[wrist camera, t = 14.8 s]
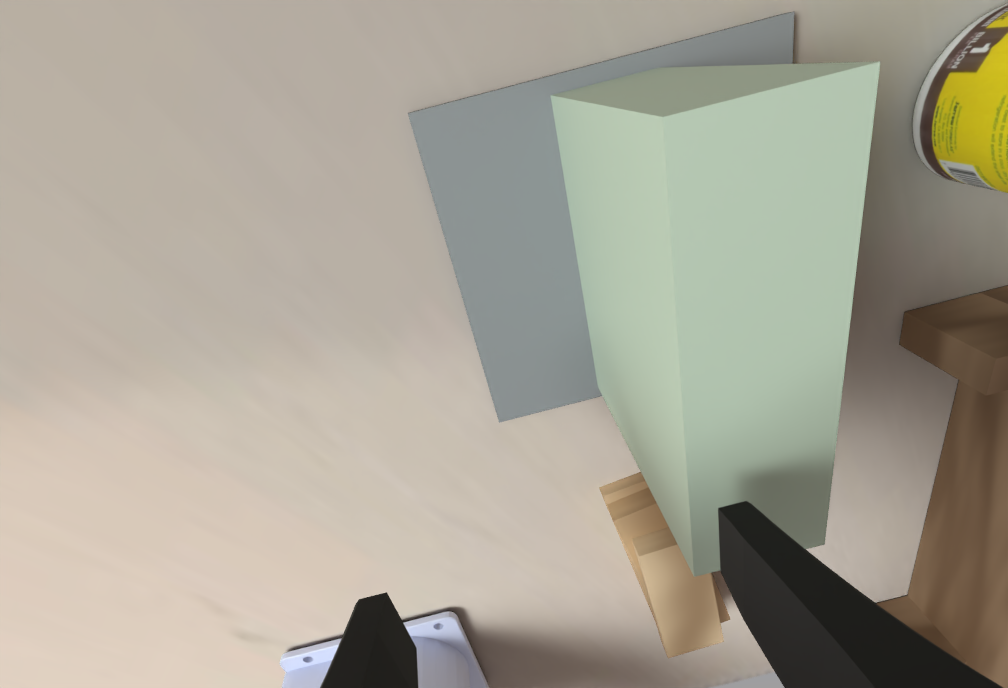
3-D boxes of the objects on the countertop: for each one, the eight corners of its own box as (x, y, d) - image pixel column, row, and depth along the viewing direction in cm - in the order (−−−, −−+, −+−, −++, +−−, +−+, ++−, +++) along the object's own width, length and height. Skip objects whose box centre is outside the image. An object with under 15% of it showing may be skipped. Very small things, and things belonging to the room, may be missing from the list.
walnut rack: (853, 624, 32) (935, 733, 27) (904, 312, 21) (1056, 390, 16) (928, 605, 32) (1025, 710, 27) (1017, 282, 21) (1206, 351, 16)
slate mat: (498, 416, 22) (499, 422, 21) (408, 112, 16) (408, 113, 16) (776, 345, 21) (781, 349, 21) (786, 12, 16) (794, 11, 15)
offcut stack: (653, 620, 30) (674, 672, 28) (595, 482, 25) (613, 530, 22) (716, 598, 30) (743, 649, 27) (671, 453, 24) (699, 499, 22)
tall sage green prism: (597, 387, 21) (694, 577, 13) (550, 95, 16) (662, 117, 8) (679, 366, 21) (824, 544, 13) (658, 67, 16) (880, 61, 8)
